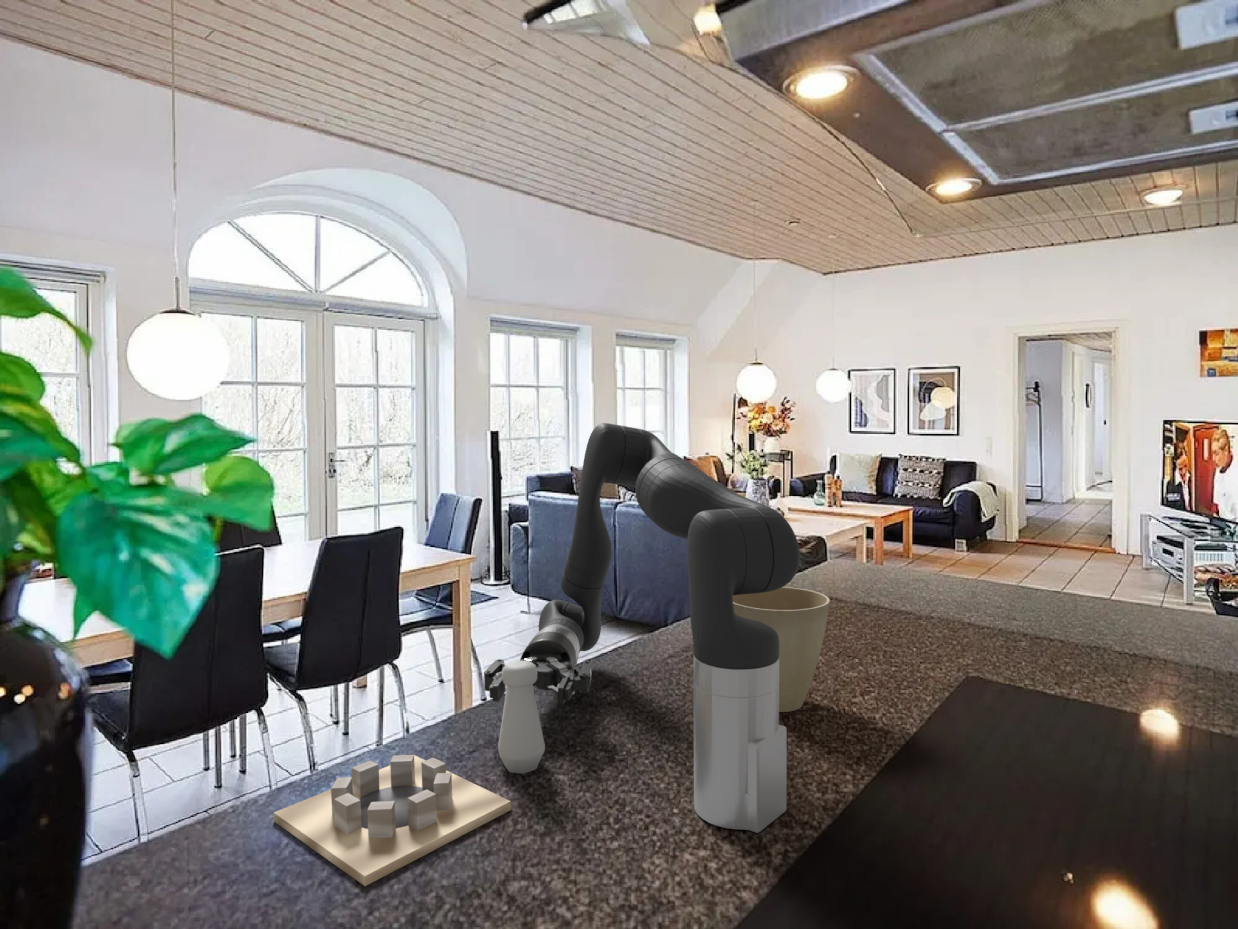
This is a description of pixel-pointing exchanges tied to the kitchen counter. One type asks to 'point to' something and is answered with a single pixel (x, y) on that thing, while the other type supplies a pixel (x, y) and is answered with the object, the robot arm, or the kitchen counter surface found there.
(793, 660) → the plant pot
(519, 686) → the salt shaker
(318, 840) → the stonehenge model
